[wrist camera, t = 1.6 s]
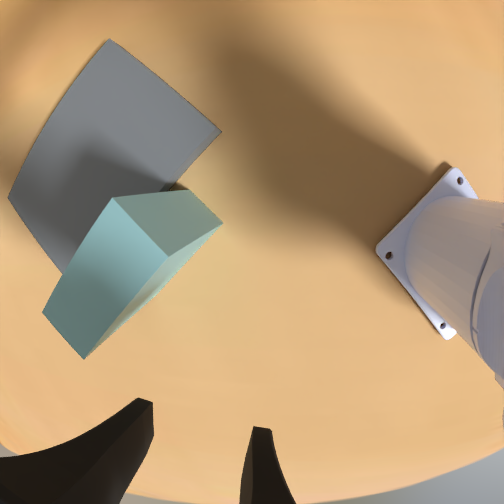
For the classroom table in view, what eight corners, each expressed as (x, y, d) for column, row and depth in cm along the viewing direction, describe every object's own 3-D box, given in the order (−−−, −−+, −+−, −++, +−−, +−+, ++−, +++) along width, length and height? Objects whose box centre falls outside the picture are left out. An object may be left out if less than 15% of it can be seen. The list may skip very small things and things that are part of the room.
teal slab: (223, 222, 19) (168, 257, 10) (156, 294, 21) (83, 359, 12) (189, 189, 19) (112, 197, 10) (127, 264, 20) (42, 312, 12)
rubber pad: (221, 131, 18) (216, 127, 16) (92, 289, 21) (81, 296, 20) (119, 45, 17) (109, 38, 16) (19, 196, 21) (7, 197, 19)
